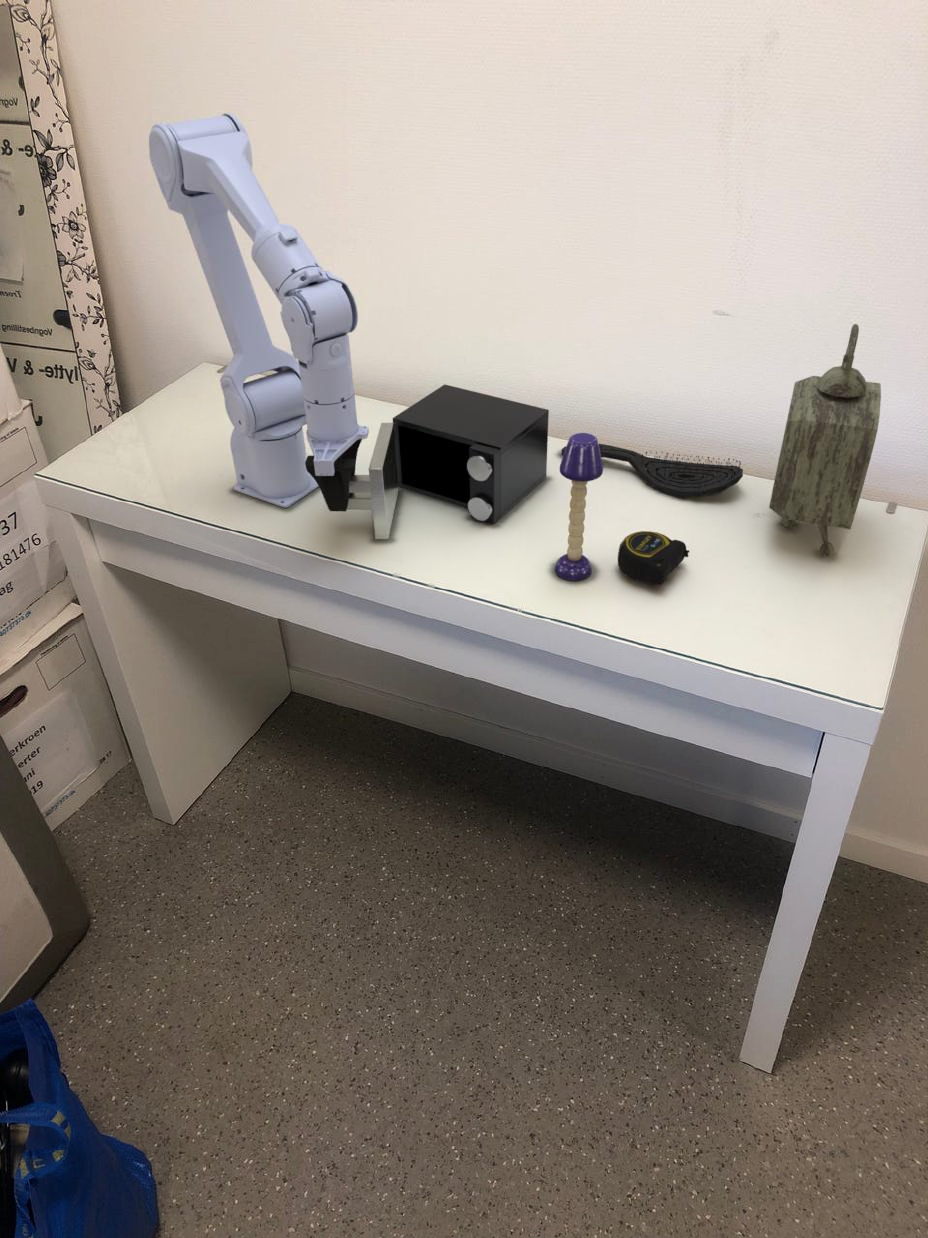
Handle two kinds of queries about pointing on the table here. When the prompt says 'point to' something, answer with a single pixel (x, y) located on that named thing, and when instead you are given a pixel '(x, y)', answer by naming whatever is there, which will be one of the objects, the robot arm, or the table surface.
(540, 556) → the table surface
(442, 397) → the microwave
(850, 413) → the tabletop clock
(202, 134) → the robot arm
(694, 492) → the hairbrush
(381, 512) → the microwave door
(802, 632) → the table surface
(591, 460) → the toy lamp
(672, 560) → the tape measure
